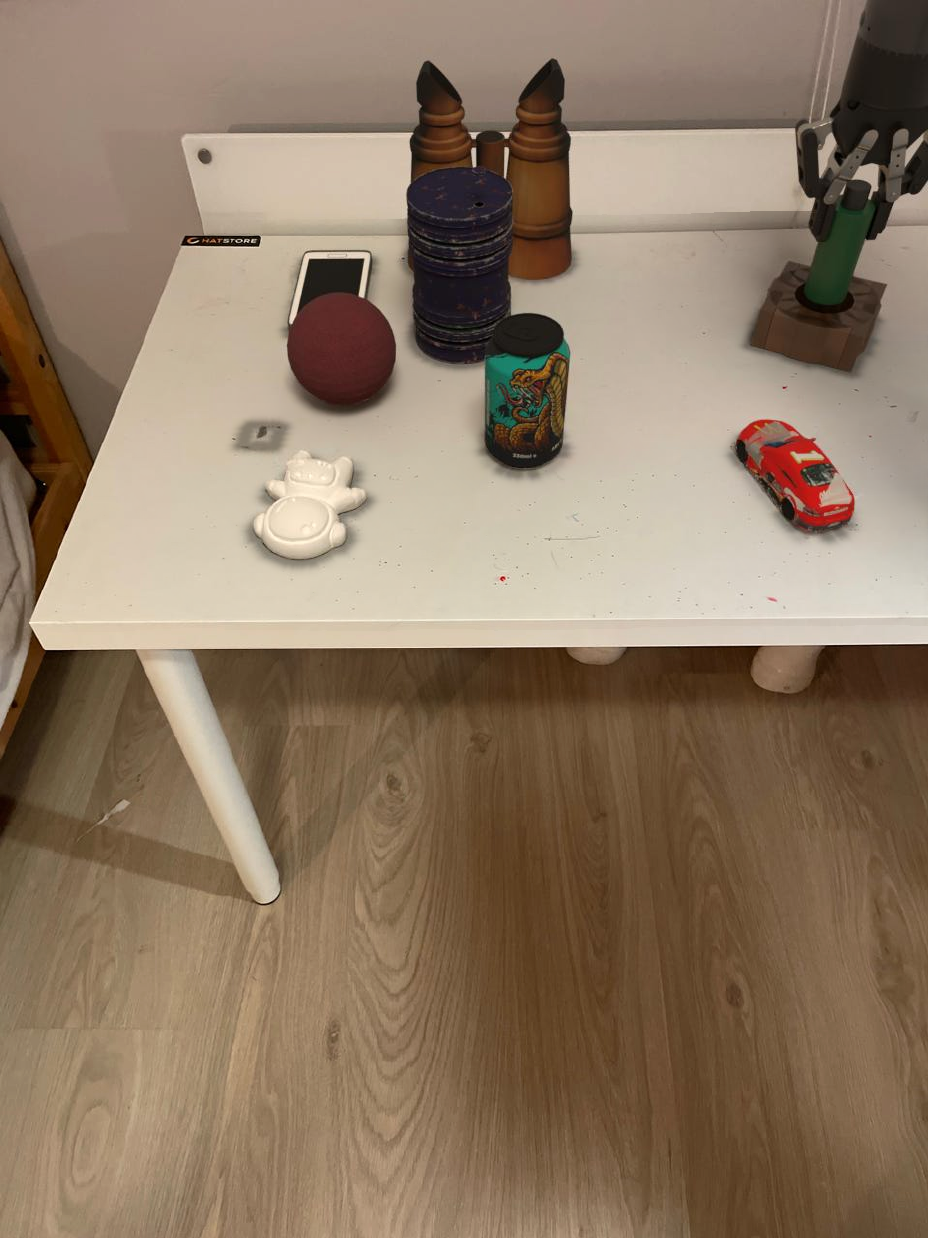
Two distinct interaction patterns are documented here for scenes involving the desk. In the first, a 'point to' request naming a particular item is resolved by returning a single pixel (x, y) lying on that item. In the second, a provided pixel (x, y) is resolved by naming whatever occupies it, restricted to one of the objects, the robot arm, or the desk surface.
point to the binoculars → (530, 167)
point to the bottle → (841, 246)
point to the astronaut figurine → (308, 507)
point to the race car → (796, 475)
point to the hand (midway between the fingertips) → (843, 235)
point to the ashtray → (817, 320)
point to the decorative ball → (341, 349)
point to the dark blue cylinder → (459, 259)
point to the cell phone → (330, 276)
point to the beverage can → (526, 390)
